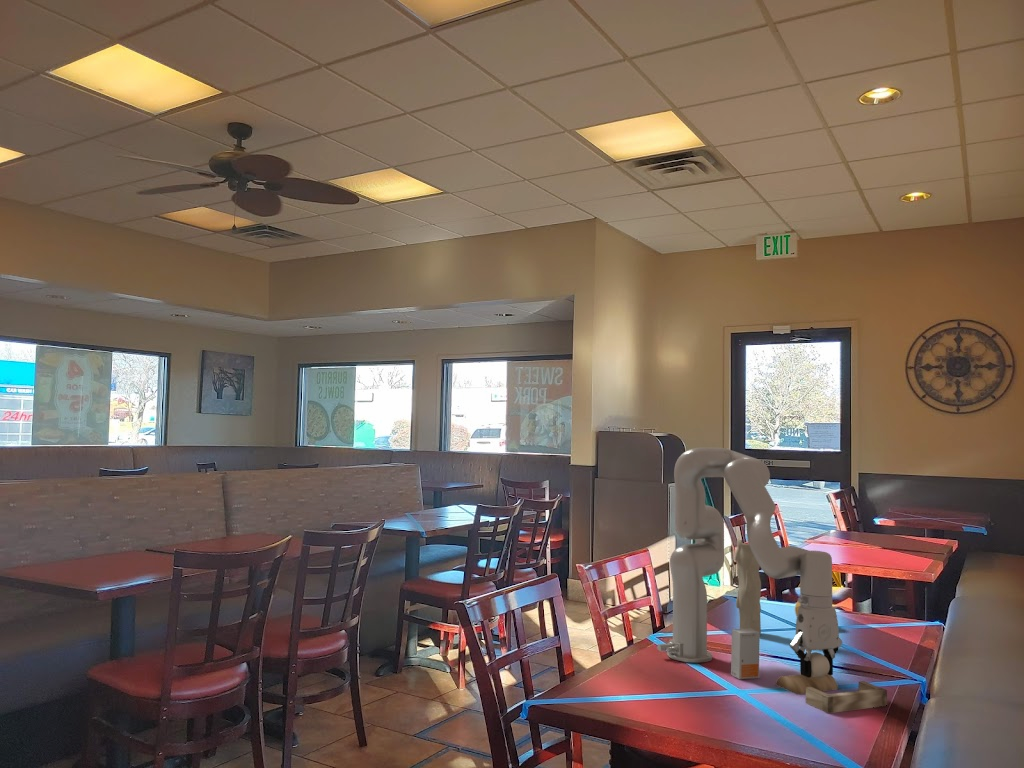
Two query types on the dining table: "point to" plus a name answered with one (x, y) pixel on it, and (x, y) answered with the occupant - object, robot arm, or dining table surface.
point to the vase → (748, 588)
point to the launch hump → (806, 683)
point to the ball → (819, 665)
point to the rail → (847, 698)
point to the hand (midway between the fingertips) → (816, 674)
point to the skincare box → (745, 653)
